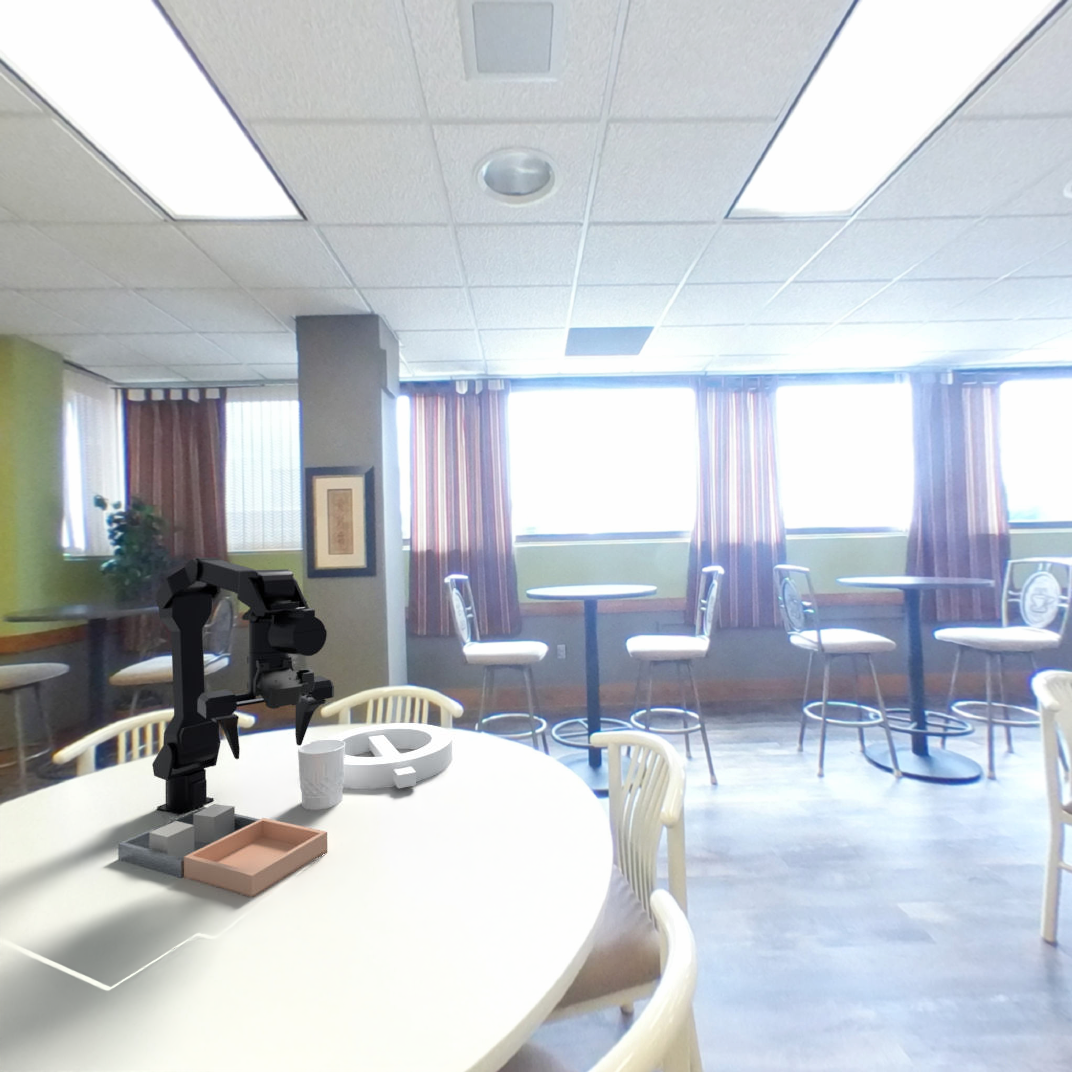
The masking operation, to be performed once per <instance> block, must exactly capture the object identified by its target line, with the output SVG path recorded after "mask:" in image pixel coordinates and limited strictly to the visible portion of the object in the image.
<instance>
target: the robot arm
mask: <svg viewBox="0 0 1072 1072" xmlns="http://www.w3.org/2000/svg"><path fill="white" fill-rule="evenodd" d="M221 589H223V590H226V591H230V592H232V593H235V594H237V595H236V596H237V597H236V599H237V600H238V601H239V602H240V603H242V604H244V605H246V606H247V607H249V609H248V610H247V611H246V612H245V613H243V615H242V616H241V619H242V620H243V621H248V655H247V657H246V663H247V664H248V682H246V689H247V690H248V692H242V693H234V692H232V691H230V690H229V689H219V690H214V691H206V684H205V683H206V682H205V680H206V678H205V676H206V675H205V655H204V652H205V651H204V632H203V631H204V628H205V626H206V625H207V623H208V621H209V620H210V618H211V616H212V614H213V603H214V601H215V600H216V599H217V598H218V596H219V595H220V594H221V593H222V590H221ZM155 602H156V603H155V604H156V606H157V608H158V614H159V619H160V620H161V621H162V623H163V624H164V625H165V626H166V628H167V629H168V630H169V632H170V638H171V639H170V640H171V641H170V642H171V662H172V663H171V665H172V689H173V691H172V692H173V716H172V717H171V720H170V722H169V723H168V725H167V727H166V729H165V731H164V733H163V745H162V747H161V749H160V750H159V752H158V753H157V755H156V757H155V759H154V760H153V762H152V771H153V776H154V777H156V778H158V779H161V780H164V781H165V803H163V804H161V805H159V806H157V807H156V810H157V811H161V812H165V813H169V814H173V815H178V816H181V815H186V814H188V813H190V812H193V811H195V810H198V809H200V808H201V807H205V806H206V805H208V804H210V803H213V802H215V801H214V800H215V799H214V798H213V797H209V796H207V794H208V793H207V790H208V789H207V786H208V784H207V775H206V774H207V773H206V772H207V768H210V767H216V765H217V762H218V758H219V757H218V756H219V752H220V749H221V748H220V747H221V738H220V727H221V729H222V731H223V733H224V735H225V738H226V740H227V743H228V745H229V747H230V750H231V752H232V756H233V758H234V759H235V760H240V752H241V751H240V749H241V748H240V740H239V729H238V723H239V719H240V718H239V716H238V715H237V714H236V713H235V711H237V709H238V707H244V706H251V705H257V704H262V703H265V706H266V707H267V708H269V709H271V710H272V709H273V710H275V709H279V708H280V707H285V706H295V722H294V723H295V725H294V726H295V730H294V731H295V742H296V745H297V746H298V747H300V746H302V745H303V741H304V739H305V736H306V733H307V731H308V727H309V725H310V722H311V720H312V717H313V715H314V713H315V712H316V710H317V709H319V707H320V706H321V705H325V704H326V702H327V699H333V698H334V697H335V685H334V683H333V681H332V680H331V679H329V678H326V677H324V676H322V675H316V676H315V671H314V670H313V669H312V668H311V667H310V668H301V669H298V670H294V667H293V661H292V656H290V655H296V656H304V657H311V656H314V655H316V654H318V653H319V652H320V651H321V650H322V649H323V648H324V645H325V644H326V641H327V637H328V633H327V629H326V627H325V625H324V623H323V621H322V620H320V618H318V617H316V609H314V608H309V606H308V603H307V602H308V600H307V599H306V597H305V596H304V594H303V592H302V591H301V587H300V586H299V584H298V581H297V579H296V578H295V577H294V573H293V572H292V571H291V570H289V569H287V568H285V569H284V568H281V569H276V568H275V569H255V568H250V567H248V566H244V565H240V564H237V563H233V562H229V561H225V560H223V559H221V558H219V557H194V558H193V559H190V560H188V562H187V563H186V565H184V567H183V568H181V569H179V570H178V571H177V570H176V571H175V572H174V573H173V574H171V575H169V576H168V577H166V578H165V580H164V581H163V583H162V584H161V586H160V587H159V588H158V589H157V592H156V595H155Z"/></svg>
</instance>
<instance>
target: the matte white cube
mask: <svg viewBox="0 0 1072 1072" xmlns="http://www.w3.org/2000/svg"><path fill="white" fill-rule="evenodd" d="M149 849H150V850H154V851H157V852H161V853H165V854H168V855H172V856H175V857H179V858H184V856H187V855H189V854H191V853H193V852H194V825H191V824H187V823H182V822H178V821H175V822H173V823H170V824H168V825H166V826H163V827H161V828H159V829H156V830H154V831H152V832H149Z"/></svg>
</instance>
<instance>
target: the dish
mask: <svg viewBox="0 0 1072 1072" xmlns="http://www.w3.org/2000/svg"><path fill="white" fill-rule="evenodd" d="M259 819H260V820H258V821H256V822H254V823H252V824H250V825H248V826H246V827H244V828H242V829H239V830H237V831H235V832H233V833H231V834H229V835H227V836H225V837H223V838H221V839H219V840H217V841H215V842H213V843H211V844H209V845H207V846H205V847H203V848H201V849H199V850H197V851H195V852H193V853H191V854H189V855H187V856H184V877H183V878H185V879H188V880H191V881H194V882H199V883H201V884H205V885H208V886H211V887H215V888H218V889H222V890H224V891H227V892H231V893H234V894H237V895H242V896H245V897H249V898H252V899H253V898H255V897H256V896H258V895H260V894H261V893H263V892H265V891H266V890H267V889H269V888H271V887H272V886H274V885H275V884H277V883H279V882H280V881H282V880H284V879H285V878H286V877H287V878H288V876H290V875H292V874H293V873H295V872H296V871H297V870H299V869H301V868H302V867H304V866H307V865H308V864H310V863H311V862H312V861H313V862H315V861H314V860H315V859H316V858H318V859H320V858H321V857H323V856H324V855H323V854H325V853H326V854H328V831H325V830H322V829H321V830H320V829H317V828H316V829H315V828H312V827H307V826H304V825H303V826H301V825H298V824H293V823H290V822H289V823H288V822H284V821H279V820H275V819H271V818H265V817H262V818H259ZM326 854H325V855H326ZM322 855H323V856H322ZM320 856H321V857H320ZM319 857H320V858H319Z"/></svg>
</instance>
